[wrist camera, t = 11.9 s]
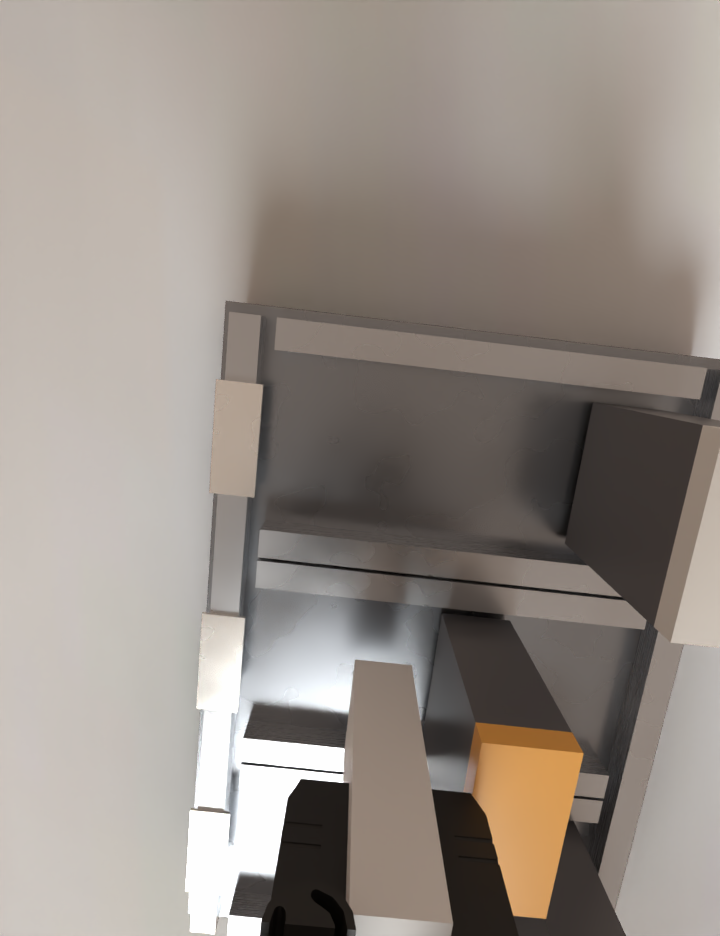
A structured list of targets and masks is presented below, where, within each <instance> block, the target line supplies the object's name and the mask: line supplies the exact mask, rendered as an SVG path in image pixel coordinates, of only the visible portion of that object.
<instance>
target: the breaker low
mask: <svg viewBox="0 0 720 936" xmlns="http://www.w3.org/2000/svg"><path fill="white" fill-rule="evenodd" d="M514 920H515V924H516V928H517V931H518V935H519V936H626V935H625V933H624V931H623V928H622V926H621V924H620V922H619V920H618V917H617V915H616V913H615V911H614V909H613V906H612V904H611V902H610V900H609V898H608V895H607V893H606V891H605V889H604V887H603V884H602V882H601V880H600V878H599V876H598V873H597V871H596V869H595V867H594V865H593V862H592V860H591V858H590V856H589V854H588V851H587V849H586V847H585V845H584V842H583V840H582V838H581V836H580V834H579V831H578V829H577V827H576V825H575V823H574V821H569V820H568V824H567V829H566V833H565V838H564V842H563V846H562V851H561V855H560V860H559V864H558V868H557V873H556V877H555V882H554V886H553V890H552V895H551V899H550V904H549V908H548V912H547V917H546V919H541V918H531V917H520V916H514Z"/></svg>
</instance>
